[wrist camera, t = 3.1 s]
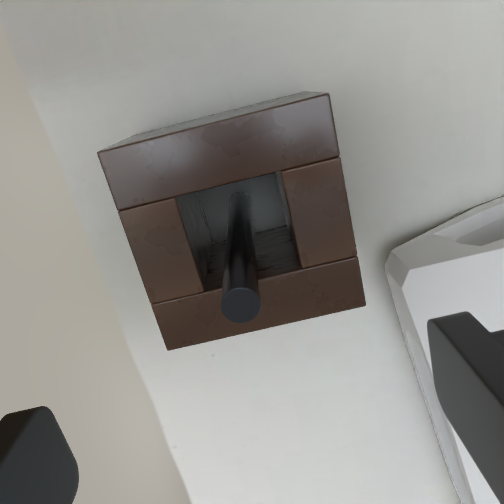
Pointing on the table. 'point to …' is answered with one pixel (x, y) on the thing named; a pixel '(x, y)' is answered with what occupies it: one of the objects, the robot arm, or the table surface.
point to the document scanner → (451, 311)
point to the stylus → (240, 264)
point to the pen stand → (266, 243)
